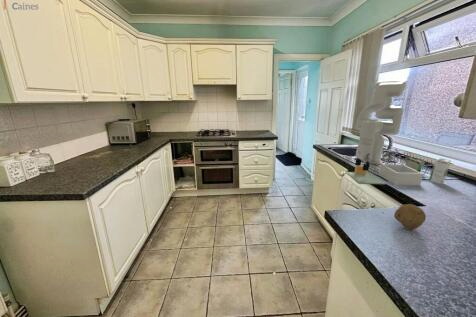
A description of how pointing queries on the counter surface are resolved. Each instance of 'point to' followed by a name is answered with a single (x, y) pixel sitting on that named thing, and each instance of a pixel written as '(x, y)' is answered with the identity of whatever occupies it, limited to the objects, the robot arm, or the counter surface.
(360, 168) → the lid
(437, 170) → the syrup box
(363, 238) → the counter surface
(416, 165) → the food container
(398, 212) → the natural sponge
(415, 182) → the tub
